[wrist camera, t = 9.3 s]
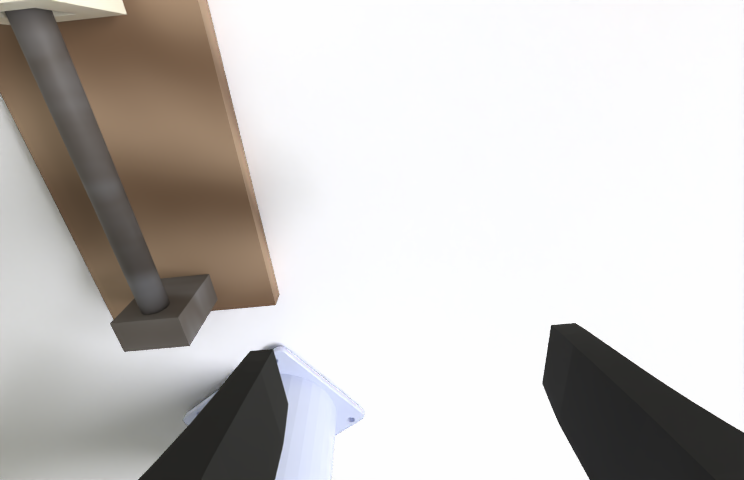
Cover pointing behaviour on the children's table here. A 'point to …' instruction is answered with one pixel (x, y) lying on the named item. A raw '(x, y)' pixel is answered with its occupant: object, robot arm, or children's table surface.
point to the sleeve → (66, 8)
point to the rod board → (142, 161)
